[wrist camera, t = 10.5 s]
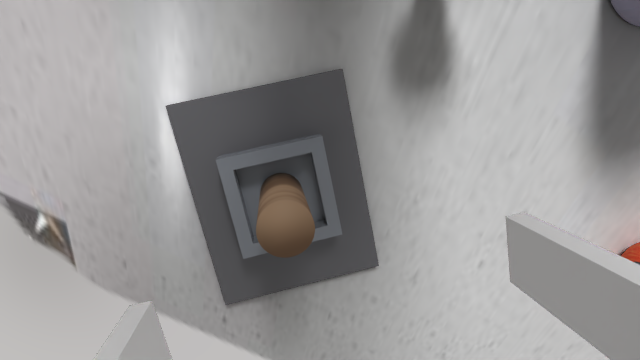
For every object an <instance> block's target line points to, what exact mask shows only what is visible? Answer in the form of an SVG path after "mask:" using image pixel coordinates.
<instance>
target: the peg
mask: <svg viewBox="0 0 640 360" xmlns="http://www.w3.org/2000/svg"><path fill="white" fill-rule="evenodd" d="M314 234H315V224H314V220H313V217H312V214H311V212H310V209H309V206H308V203H307V200H306V198H305V195H304V192H303V189H302V186H301V184H300V182H299V181H298V180H297V179H296V178H295V177H294V176H292V175H290V174H287V173H276V174H273V175H271V176H270V177H268V178H267V179H266V180H265V181H264V183H263V184H262V186H261V190H260V198H259V207H258V215H257V224H256V235H257V239H258V242H259V244H260V245H261V247H262V248H263V249H264V250H265V251H266V252H268V253H269V254H271V255H273V256H276V257H281V258H287V257H293V256H296V255H298V254H300V253H302V252H303V251H305V250H306V249H307V248H308V247H309V245H310V244H311V242H312V240H313V238H314Z"/></svg>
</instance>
